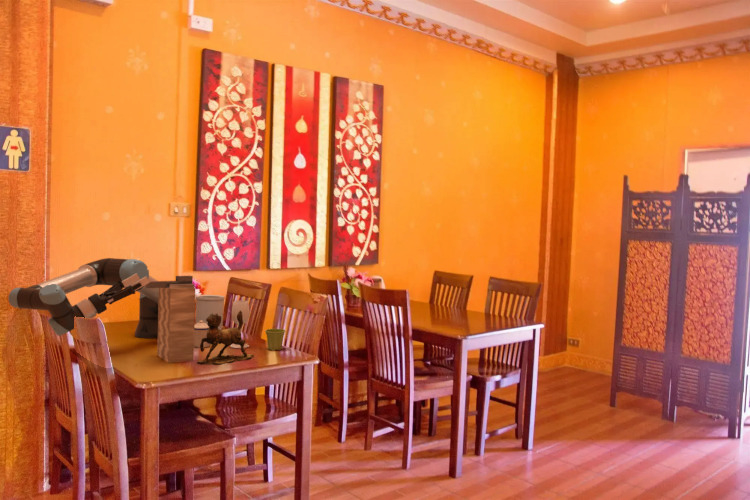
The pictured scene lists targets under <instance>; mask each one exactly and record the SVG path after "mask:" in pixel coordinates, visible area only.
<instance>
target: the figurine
mask: <svg viewBox="0 0 750 500" xmlns="http://www.w3.org/2000/svg"><path fill="white" fill-rule="evenodd" d="M242 316H243V315H242V312H241V311H239V313H238V314H237V320H238V322H239V326H238V325H237V327H228V328H226V329H221V330H219V329H218V327H219V326H220V323H221V316H219V315H218V314H217V313H216V314H213V313H212V314H210V316H209V317H208V318H207V319H206V321H207V322H208V324H207V325H208V326H209V329H208V331H207V335H206V337H207V338H205V337H203V338H202V341H201V344H200V352H201V353H203V352H204V351H205V347H203V343H204V342H207V343H209V344H210V348H209V351H208V352H207V354H206V356H205V358H203V360H198V361H197V362H196V363H197V364H199V365H214V366H215V365H216V366H219V365H221V366H222V365H224V364H230V363H231V364H232V363H234V362H240V361H246V360H247V361H248V360H251V359H252V358H254V357H255V355H254V354H248V353H247V352H246V349H245V348H244V344H246V339H243V338H242V331H241V332H240V329H241V330H242V328H243V325H244V324H243V319H242ZM221 344H223V345H224V346H223V347H222V348H221V350H220V351H219V353H218V354H217V355H215V356H212V357H211V358H210V356H211V354H212V352H213V351H214V350H215V348H216V347H217V346H218V345H221ZM232 344H236V345H240V346H241V348H240V351H241V353H242V354H239V355H235V354H231V355H229V354H227V355H225V354H224V351H225V350H226V349H227V348H228V347H229V346H230V345H232Z"/></svg>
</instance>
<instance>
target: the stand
mask: <svg viewBox="0 0 750 500" xmlns="http://www.w3.org/2000/svg"><path fill="white" fill-rule="evenodd" d="M195 322H196V287H195V283H192V284H169V288H159V303H158V338H157V343H156V345H157V350H156V351H157V352H156V354H157V355H156V356H158V357H160V358H161V359H162V360H164V361H166V362H167V363H168V362H169V363H168V364H171V363H172V362H173V363H180V362H191V361H194V358H195V357H194V355H195V353H194V352H195V350H194V349H195V347H194V325H195Z"/></svg>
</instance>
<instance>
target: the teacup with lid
mask: <svg viewBox="0 0 750 500" xmlns="http://www.w3.org/2000/svg"><path fill="white" fill-rule="evenodd" d="M203 322H204V321H199V323H197V324H196V323H194V348H196V349H197V348H198V349H199V348H200V344H201V341H202V338H203V337H205V338H207V337H206V335H207V331H208V329H209V326H208V325H207V324H206V323H203ZM208 347H211V344H209V343H207V342H204V343H203V348H208ZM200 349H201V348H200Z"/></svg>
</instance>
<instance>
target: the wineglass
mask: <svg viewBox="0 0 750 500" xmlns="http://www.w3.org/2000/svg"><path fill="white" fill-rule="evenodd" d="M239 311H241V312H242V315H243V316H242V319H243V325H245V324H246V323H247V322H248V321H249V319H250V311H251V310H250V303H249V300H234V301H233V302H232V306H231V319H232V321H233V323H234V324H236V325H237V327H238V326H239V322H238V320H237V314H238V313H239ZM240 332H241V333H242V328H241V329H240ZM249 347H250V345H249V344H247V343H245V344H244V349H246V348H249ZM230 348H234V349H241V346H240V345H236V344H234V343H233V344H231V345H230Z"/></svg>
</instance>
